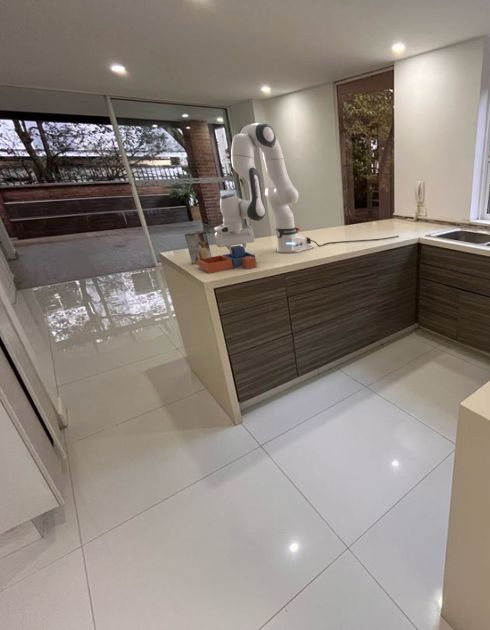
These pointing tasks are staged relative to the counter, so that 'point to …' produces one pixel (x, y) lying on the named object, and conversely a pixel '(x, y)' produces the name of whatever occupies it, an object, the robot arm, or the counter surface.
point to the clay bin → (215, 264)
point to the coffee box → (198, 246)
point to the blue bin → (238, 259)
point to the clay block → (248, 262)
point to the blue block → (238, 251)
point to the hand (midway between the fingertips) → (237, 252)
